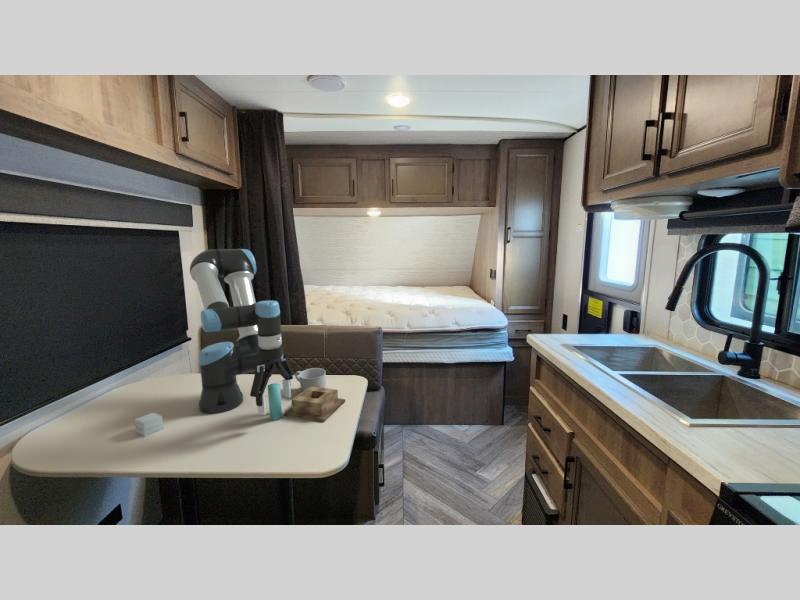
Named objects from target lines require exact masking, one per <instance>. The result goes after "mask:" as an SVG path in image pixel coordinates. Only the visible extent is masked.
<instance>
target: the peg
mask: <svg viewBox="0 0 800 600" xmlns="http://www.w3.org/2000/svg"><path fill="white" fill-rule="evenodd" d="M267 396H268V407H269V419H270V421H273V422H274V421H276V422H277V421H279V420H282V418H283V412H282V397H281V385H280V383H275V382H274V383H273V382H272V383H270V384H267Z"/></svg>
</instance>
